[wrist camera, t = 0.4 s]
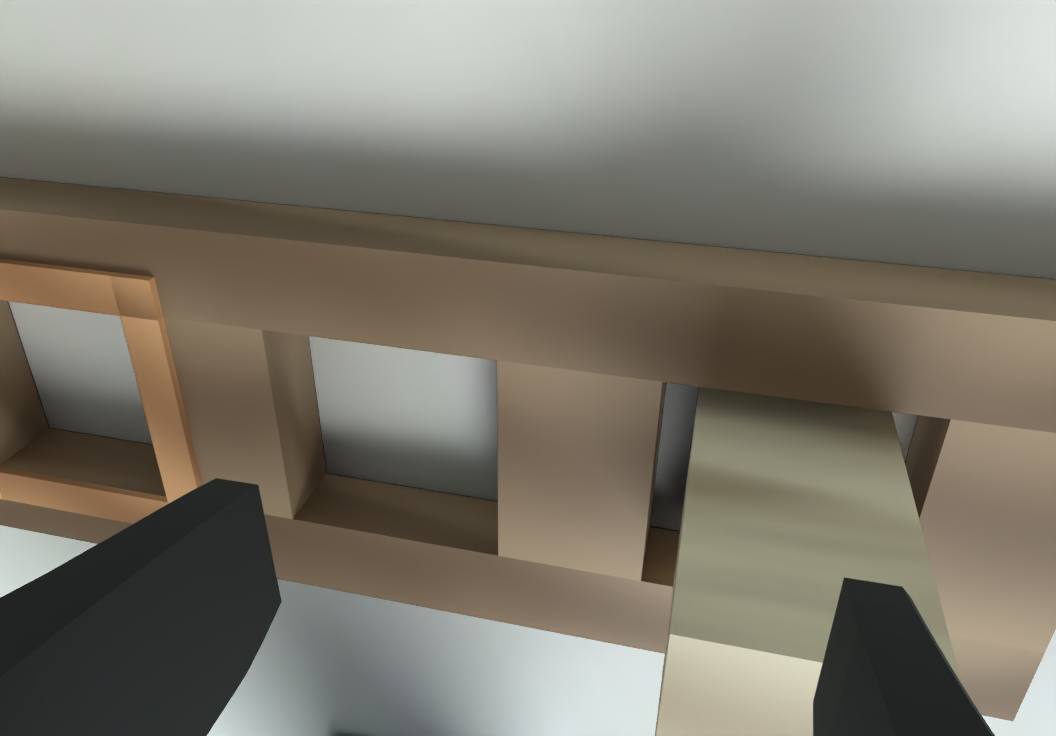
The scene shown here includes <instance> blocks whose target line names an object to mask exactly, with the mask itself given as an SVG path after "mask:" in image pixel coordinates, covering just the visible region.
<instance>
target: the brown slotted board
mask: <svg viewBox="0 0 1056 736" xmlns="http://www.w3.org/2000/svg"><path fill="white" fill-rule="evenodd" d="M7 301H11V302H19V303H27V304H34V305H42V306H50V307H57V308H65V309H72V310H80V311H88V312H95V313H103V314H110V315H118V316H120V318H121V322H122V326H123V330H124V334H125V337H126V341H127V345H128V349H129V353H130V357H131V361H132V365H133V369H134V373H135V376H136V380H137V384H138V388H139V392H140V396H141V400H142V404H143V408H144V411H145V415H146V419H147V423H148V427H149V431H150V435H151V439H152V443H153V445H149V444H143V443H137V442H131V441H125V440H119V439H113V438H107V437H101V436H95V435H89V434H82V433H76V432H70V431H64V430H58V429H52V428H49V427H48V424H47V420H46V417H45V414H44V411H43V408H42V405H41V402H40V399H39V396H38V393H37V390H36V387H35V384H34V381H33V378H32V375H31V372H30V369H29V366H28V363H27V360H26V357H25V354H24V350H23V347H22V344H21V341H20V338H19V335H18V332H17V329H16V326H15V323H14V320H13V317H12V314H11V311H10V308H9V305H8V302H7ZM308 336H313V337H321V338H329V339H336V340H344V341H352V342H360V343H367V344H375V345H383V346H390V347H398V348H406V349H413V350H421V351H429V352H436V353H444V354H452V355H460V356H467V357H475V358H483V359H490V360H497V435H498V502H496V501H490V500H484V499H478V498H471V497H465V496H459V495H453V494H447V493H441V492H435V491H429V490H423V489H417V488H411V487H405V486H399V485H392V484H386V483H380V482H374V481H368V480H362V479H356V478H350V477H344V476H338V475H332V474H327V472H326V465H325V457H324V450H323V443H322V435H321V428H320V420H319V413H318V405H317V398H316V390H315V383H314V375H313V368H312V360H311V353H310V345H309V338H308ZM666 382H667V383H675V384H683V385H690V386H698V387H706V388H713V389H721V390H729V391H736V392H744V393H752V394H760V395H767V396H775V397H783V398H790V399H798V400H806V401H813V402H821V403H829V404H836V405H844V406H852V407H860V408H867V409H875V410H883V411H890V412H898V413H906V414H913V415H919V417H918V421H917V424H916V427H915V431H914V434H913V438H912V441H911V444H910V448H909V451H908V455H907V458H906V462H905V466H906V470H907V474H908V478H909V481H910V485H911V489H912V493H913V497H914V501H915V505H916V509H917V513H918V517H919V520H920V524H921V528H922V532H923V536H924V540H925V544H926V548H927V552H928V555H929V559H930V563H931V567H932V571H933V575H934V579H935V583H936V587H937V591H938V594H939V598H940V602H941V606H942V610H943V614H944V618H945V622H946V626H947V629H948V633H949V637H950V641H951V645H952V649H953V653H954V657H955V661H956V665H957V668H958V672H959V676H960V680H961V684H962V685H963V687H964V689H965V690H966V692H967V693H968V695H969V697H970V698H971V700H972V701H973V703H974V705H975V706H976V708H977V709H978V711H979V712H980V714H981V715H984V716H990V717H995V718H1000V719H1005V720H1010V721H1013V720H1014V718H1015V716H1016V714H1017V712H1018V710H1019V707H1020V705H1021V703H1022V701H1023V699H1024V697H1025V694H1026V692H1027V690H1028V688H1029V686H1030V683H1031V681H1032V679H1033V677H1034V675H1035V673H1036V670H1037V668H1038V666H1039V664H1040V662H1041V660H1042V657H1043V655H1044V653H1045V651H1046V649H1047V647H1048V644H1049V642H1050V640H1051V638H1052V636H1053V633H1054V631H1055V629H1056V280H1054V279H1044V278H1034V277H1023V276H1013V275H1003V274H992V273H982V272H972V271H962V270H951V269H941V268H931V267H920V266H910V265H900V264H889V263H879V262H869V261H858V260H848V259H838V258H828V257H817V256H807V255H797V254H786V253H776V252H766V251H755V250H745V249H735V248H725V247H714V246H704V245H694V244H683V243H673V242H663V241H652V240H642V239H632V238H621V237H611V236H601V235H591V234H580V233H570V232H560V231H549V230H539V229H529V228H518V227H508V226H498V225H487V224H477V223H467V222H457V221H446V220H436V219H426V218H415V217H405V216H395V215H384V214H374V213H364V212H354V211H343V210H333V209H323V208H312V207H302V206H292V205H281V204H271V203H261V202H250V201H240V200H230V199H220V198H209V197H199V196H189V195H178V194H168V193H158V192H147V191H137V190H127V189H117V188H106V187H96V186H86V185H75V184H65V183H55V182H44V181H34V180H24V179H13V178H3V177H0V525H3V526H9V527H14V528H19V529H24V530H29V531H34V532H40V533H45V534H50V535H55V536H60V537H65V538H71V539H76V540H81V541H86V542H91V543H96V544H99V543H101V542H103V541H104V540H106V539H108V538H110V537H112V536H113V535H115V534H117V533H119V532H120V531H122V530H124V529H125V528H127V527H129V526H131V525H132V524H134V523H136V522H137V521H139V520H141V519H143V518H144V517H146V516H148V515H150V514H151V513H153V512H155V511H157V510H158V509H160V508H162V507H164V506H165V505H167V504H169V503H171V502H172V501H174V500H176V499H178V498H179V497H181V496H183V495H185V494H187V493H189V492H190V491H192V490H194V489H196V488H198V487H200V486H202V485H204V484H206V483H208V482H210V481H212V480H214V479H216V478H219V479H225V480H231V481H238V482H244V483H250V484H257V485H259V490H260V495H261V500H262V506H263V511H264V516H265V521H266V526H267V531H268V536H269V541H270V546H271V551H272V557H273V562H274V567H275V572H276V577H277V579H282V580H287V581H293V582H298V583H303V584H308V585H313V586H318V587H324V588H329V589H334V590H339V591H344V592H349V593H354V594H360V595H365V596H370V597H375V598H380V599H385V600H391V601H396V602H401V603H406V604H411V605H416V606H422V607H427V608H432V609H437V610H442V611H447V612H453V613H458V614H463V615H468V616H473V617H478V618H484V619H489V620H494V621H499V622H504V623H509V624H515V625H520V626H525V627H530V628H535V629H540V630H546V631H551V632H556V633H561V634H566V635H571V636H576V637H582V638H587V639H592V640H597V641H602V642H607V643H613V644H618V645H623V646H628V647H633V648H638V649H644V650H649V651H654V652H659V653H664V654H665V649H666V641H667V633H668V625H669V616H670V608H671V600H672V592H673V584H674V575H675V567H676V559H677V551H678V542H679V534H680V532H678V531H672V530H666V529H660V528H654V527H650V524H651V515H652V506H653V497H654V488H655V479H656V469H657V460H658V451H659V442H660V433H661V424H662V415H663V406H664V397H665V388H666Z"/></svg>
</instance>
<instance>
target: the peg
mask: <svg viewBox="0 0 1056 736" xmlns="http://www.w3.org/2000/svg"><path fill="white" fill-rule="evenodd" d="M844 577H845V578H851V579H858V580H864V581H870V582H877V583H883V584H889V585H896V586H902V587H903V588H904V589H905V590H906V592H907V593H908V594H909V595H910V597H911V598H912V600H913V602H914V604H915V606H916V607H917V609H918V611H919V613H920V614H921V616H922V618H923V620H924V621H925V623H926V625H927V627H928V628H929V630H930V632H931V634H932V635H933V637H934V639H935V640H936V642H937V644H938V646H939V647H940V649H941V651H942V652H943V654H944V656H945V657H946V659H947V661H948V662H949V664H950V666H951V667H952V669H953V671H954V672H955V674H956V675H957V677H958V679H959V680H960V676H959V672H958V668H957V665H956V661H955V657H954V653H953V649H952V645H951V641H950V637H949V633H948V629H947V626H946V622H945V618H944V614H943V610H942V606H941V602H940V598H939V594H938V591H937V587H936V583H935V579H934V575H933V571H932V567H931V563H930V559H929V555H928V552H927V548H926V544H925V540H924V536H923V532H922V528H921V524H920V520H919V517H918V513H917V509H916V505H915V501H914V497H913V493H912V489H911V485H910V481H909V478H908V474H907V470H906V466H905V462H904V458H903V454H902V450H901V446H900V443H899V439H898V435H897V431H896V427H895V423H894V419H893V415H892V412H890V411H883V410H875V409H867V408H860V407H852V406H844V405H836V404H829V403H821V402H813V401H806V400H798V399H790V398H783V397H775V396H767V395H760V394H752V393H744V392H736V391H729V390H721V389H713V388H706V387H699V390H698V397H697V405H696V412H695V420H694V427H693V435H692V442H691V450H690V457H689V465H688V472H687V480H686V487H685V495H684V502H683V510H682V518H681V526H680V534H679V542H678V551H677V559H676V567H675V575H674V584H673V592H672V600H671V608H670V616H669V625H668V633H667V641H666V649H665V657H664V666H663V674H662V682H661V690H660V698H659V707H658V715H657V723H656V731H655V736H813V700H814V696H815V692H816V688H817V684H818V680H819V676H820V672H821V668H822V664H823V660H824V656H825V652H826V648H827V644H828V640H829V636H830V632H831V628H832V624H833V620H834V616H835V612H836V608H837V604H838V600H839V596H840V592H841V588H842V583H843V579H844ZM960 682H961V680H960Z"/></svg>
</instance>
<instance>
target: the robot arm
mask: <svg viewBox="0 0 1056 736" xmlns="http://www.w3.org/2000/svg"><path fill="white" fill-rule="evenodd" d="M280 604H281V597H280V592H279V587H278V582H277V577H276V572H275V567H274V562H273V557H272V551H271V546H270V541H269V536H268V531H267V526H266V521H265V516H264V511H263V506H262V500H261V495H260V490H259V485H257V484H250V483H244V482H238V481H231V480H225V479H219V478H216V479H214V480H212V481H210V482H208V483H206V484H204V485H202V486H200V487H198V488H196V489H194V490H192V491H190V492H189V493H187V494H185V495H183V496H181V497H179V498H178V499H176V500H174V501H172V502H171V503H169V504H167V505H165V506H164V507H162V508H160V509H158V510H157V511H155V512H153V513H151V514H150V515H148V516H146V517H144V518H143V519H141V520H139V521H137V522H136V523H134V524H132V525H131V526H129V527H127V528H125V529H124V530H122V531H120V532H119V533H117V534H115V535H113V536H112V537H110V538H108V539H106V540H104V541H103V542H101V543H99V544H97V545H96V546H94V547H92V548H90V549H89V550H87V551H85V552H83V553H82V554H80V555H78V556H76V557H75V558H73V559H71V560H69V561H68V562H66V563H64V564H62V565H61V566H59V567H57V568H55V569H54V570H52V571H50V572H48V573H46V574H45V575H43V576H41V577H39V578H37V579H35V580H33V581H31V582H29V583H28V584H26V585H24V586H22V587H20V588H18V589H16V590H14V591H12V592H11V593H9V594H7V595H5V596H3V597H1V598H0V736H207V734H208V733H209V731H210V730H211V728H212V726H213V725H214V723H215V722H216V720H217V719H218V717H219V716H220V714H221V713H222V711H223V709H224V708H225V706H226V705H227V703H228V702H229V700H230V699H231V697H232V696H233V694H234V692H235V691H236V689H237V688H238V686H239V685H240V683H241V681H242V680H243V678H244V677H245V675H246V673H247V672H248V670H249V668H250V666H251V664H252V662H253V660H254V658H255V656H256V654H257V652H258V650H259V648H260V646H261V644H262V642H263V640H264V638H265V636H266V634H267V632H268V629H269V627H270V625H271V623H272V621H273V619H274V617H275V614H276V612H277V610H278V608H279V606H280ZM813 736H995V735H994V734H993V732H992V731H991V729H990V728H989V726H988V725H987V723H986V722H985V720H984V719H983V717H982V715H981V714H980V712H979V711H978V709H977V708H976V706H975V705H974V703H973V701H972V700H971V698H970V697H969V695H968V693H967V692H966V690H965V689H964V687H963V685H962V684H961V682H960V680H959V679H958V677H957V675H956V674H955V672H954V671H953V669H952V667H951V666H950V664H949V662H948V661H947V659H946V657H945V656H944V654H943V652H942V651H941V649H940V647H939V646H938V644H937V642H936V640H935V639H934V637H933V635H932V634H931V632H930V630H929V628H928V627H927V625H926V623H925V621H924V620H923V618H922V616H921V614H920V613H919V611H918V609H917V607H916V606H915V604H914V602H913V600H912V598H911V597H910V595H909V594H908V593H907V592H906V590H905V589H904V588H903V587H902V586H896V585H889V584H883V583H877V582H870V581H864V580H858V579H851V578H845V577H844V579H843V583H842V588H841V592H840V596H839V600H838V604H837V608H836V612H835V616H834V620H833V624H832V628H831V632H830V636H829V640H828V644H827V648H826V652H825V656H824V660H823V664H822V668H821V672H820V676H819V680H818V684H817V688H816V692H815V696H814V700H813Z"/></svg>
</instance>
